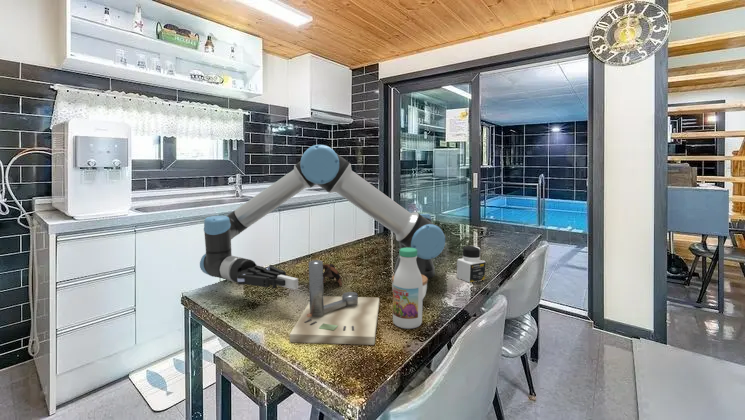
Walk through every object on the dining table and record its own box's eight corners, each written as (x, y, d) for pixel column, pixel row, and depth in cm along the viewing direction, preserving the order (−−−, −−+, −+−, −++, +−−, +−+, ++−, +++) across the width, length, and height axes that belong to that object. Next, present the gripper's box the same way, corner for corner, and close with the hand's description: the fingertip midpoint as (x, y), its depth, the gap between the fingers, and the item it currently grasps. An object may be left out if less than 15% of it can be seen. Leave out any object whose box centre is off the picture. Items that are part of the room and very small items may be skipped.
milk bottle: (401, 314, 99) (402, 244, 96) (427, 321, 95) (428, 248, 92) (387, 324, 93) (387, 250, 90) (413, 332, 89) (414, 254, 86)
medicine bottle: (470, 283, 124) (471, 250, 122) (456, 277, 130) (457, 245, 129) (485, 280, 127) (486, 247, 126) (471, 274, 134) (472, 243, 132)
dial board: (379, 304, 106) (379, 296, 106) (374, 344, 83) (374, 335, 82) (313, 302, 108) (313, 295, 107) (289, 342, 84) (289, 333, 84)
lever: (351, 298, 104) (351, 251, 102) (361, 303, 100) (360, 254, 98) (303, 314, 93) (301, 262, 91) (312, 319, 90) (310, 266, 88)
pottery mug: (342, 291, 118) (330, 272, 116) (318, 301, 120) (305, 283, 118) (346, 271, 129) (335, 253, 127) (324, 281, 132) (313, 263, 129)
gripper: (257, 276, 114) (312, 290, 102) (221, 288, 103) (278, 305, 91) (256, 253, 113) (312, 264, 101) (219, 263, 102) (277, 277, 90)
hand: (296, 284), depth 96 cm, fingers closed
